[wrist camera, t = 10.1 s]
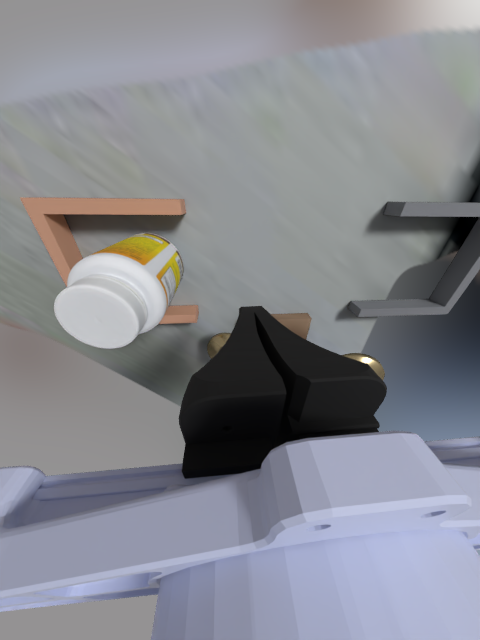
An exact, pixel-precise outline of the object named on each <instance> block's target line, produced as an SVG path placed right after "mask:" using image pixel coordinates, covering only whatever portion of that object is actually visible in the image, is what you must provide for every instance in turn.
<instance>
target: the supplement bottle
mask: <svg viewBox="0 0 480 640" xmlns="http://www.w3.org/2000/svg"><path fill="white" fill-rule="evenodd" d="M183 272H184V265H183V260H182V257H181V255H180V253H179V251H178V250H177V249H176V247H175V246H174V245H173V244H172V243H171V242H170V241H168V240H167V239H165V238H164V237H161V236H159V235H156V234H152V233H140V234H136V235H134V236H132V237H129V238H127V239H125V240H123V241H120V242H118V243H116V244H114V245H112V246H109V247H107V248H105V249H103V250H101V251H98V252H96V253H94V254H92V255H90V256H87V257H85V258H84V259H82V260H80V261H79V262H78V263H76V264H75V266H74V267H73V268H72V269H71V271H70V273H69V276H68V280H67V288H65V289H64V290H62V291H61V292H60V293H59V294H58V296H57V298H56V300H55V304H54V311H55V315H56V317H57V319H58V321H59V323H60V324H61V325H62V327H63V328H64V329H65V330H66V331H67V332H68V333H69V334H71V335H72V336H73V337H75V338H76V339H78V340H79V341H81V342H83V343H86V344H88V345H91V346H94V347H99V348H107V349H113V348H119V347H123V346H125V345H127V344H129V343H131V342H132V341H133V340H134V339H135V338H136V336H137V335H138V334H142V333H145V332H147V331H149V330H151V329H153V328H154V327H155V326H157V325H158V324H159V322H160V321H161V320H162V318H163V316H164V314H165V312H166V310H167V308H168V306H169V304H170V302H171V300H172V298H173V296H174V294H175V292H176V290H177V287H178V285H179V283H180V281H181V279H182V276H183Z"/></svg>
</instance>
